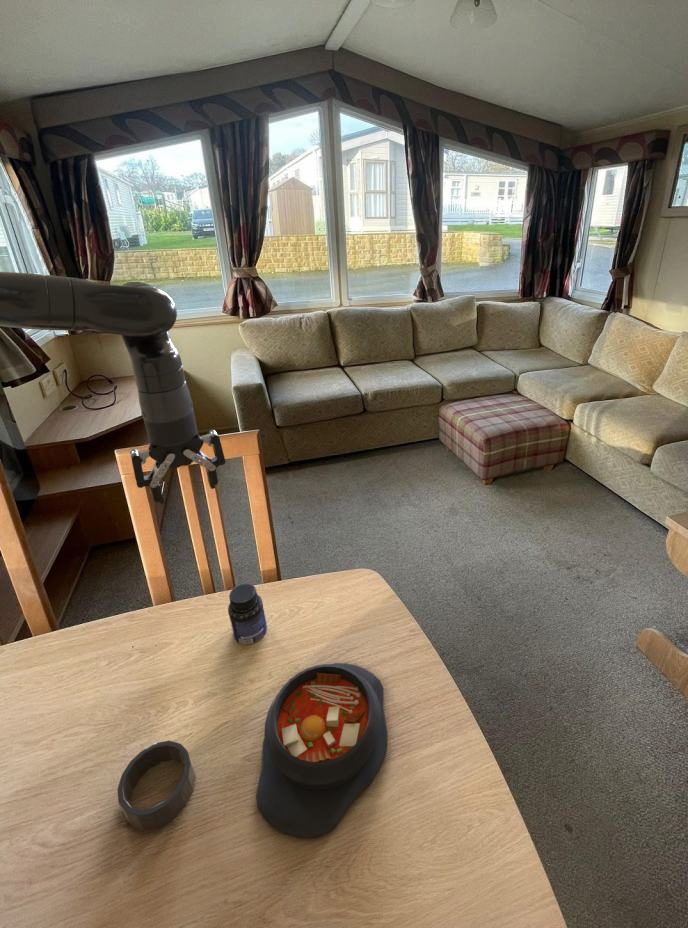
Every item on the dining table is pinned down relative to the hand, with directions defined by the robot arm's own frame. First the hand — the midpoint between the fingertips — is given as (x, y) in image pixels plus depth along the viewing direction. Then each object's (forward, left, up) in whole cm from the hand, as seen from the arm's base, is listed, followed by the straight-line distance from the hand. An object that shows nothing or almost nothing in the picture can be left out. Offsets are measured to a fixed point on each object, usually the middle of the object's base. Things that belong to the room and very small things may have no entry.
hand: (187, 494), depth 85 cm
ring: (-2, -33, -28) cm, 43 cm away
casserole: (+21, -30, -28) cm, 46 cm away
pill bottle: (+8, -8, -28) cm, 30 cm away
